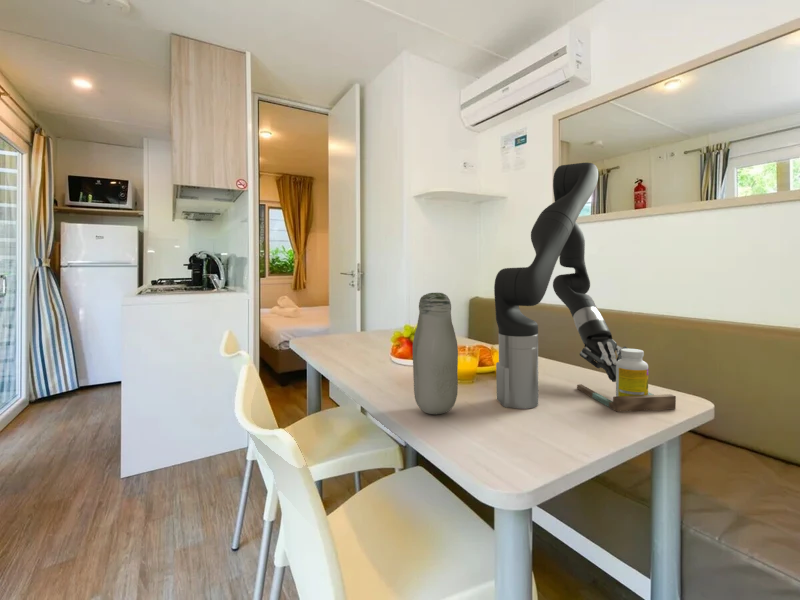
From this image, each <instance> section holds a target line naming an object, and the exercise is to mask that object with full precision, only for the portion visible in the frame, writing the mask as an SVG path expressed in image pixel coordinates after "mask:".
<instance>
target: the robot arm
mask: <svg viewBox="0 0 800 600" xmlns="http://www.w3.org/2000/svg"><path fill="white" fill-rule="evenodd" d="M598 180H599V170H598V167H597V165H595V164H594V163H593V162H579V163H569V164H562V165H560V166H559V165H558V167H557V168H556V169H555V170H554V173H553V178H552V191H553V196H554V197H553V199H554V202H552V203H551V204H549V205H548V206H546V207H545V208H544V209H543V210H542V211H541V212H540V213H539V215H538V216H537V219H536V221H535V223H534V224H533V226H532V229H531V230H530V240H531V244H532V247H533V249H534V252H535V257H534V259H533V261H532V262H531V264H530V265H528V266H527V267H525V266H524V267H523V266H522V267H521V266H520V267H506V268H505V267H504V268H502V269H500V270H499V271H498V272H497V273H496V276H495V278H494V279H495V280H494V287H493V288H494V290H493V291H494V294H493V295H494V307H495V320H496V321H495V323H496V324H497V330H498V362H496V364H495V369H496V370H495V371H496V375H495V376H496V378H495V379H496V382H495V384H496V387H495V388H496V400H497V401H498V403H499V404H501V406H503V408H512V409H521V410H522V409H523V410H524V409H525V410H527V409H532V408H536V407H537V406H538V405H539V324H538V323H537V321H535V320H533V319H531V318H530V317H527V316H526V315H525V314H523V313H522V311H521V310H520V307H533V306H538V305H539V303H541V301H542V300H543V298H544V296H545V295H546V292H547V289H548V288H549V287H548V286H549V284H550V282H551V279H552V276H553V272H554V269H555V267H556V264H557V262H558V261H559V265H560V266H561V267H563V268H568V269H569V268H570V269H573V270H574V273H573V272H572V273H565V274H558V275H557V276H555V278H554V279H553V280H552V281H553V282H552V288H553V291H554V294H556V296H557V297H558V299H559V300H560V301H561V302H562V303H563V304H564V305H565V307H566V308H568V310H569V311H570V314H571V316H572V319H573V321H574V326H575V328H576V330H577V332H578V334H579V336H580V339H581V341H582V343H583V346H584V347H583V348H582V349H581V351H580V353H579V356H580V357H582V358H583V359H584V360H585V361H586V362H588V363H589V364H591V365H592V366H594V367H595V368H596V369H600V368H601V369H603V370H604V371H605V372H606V375H607V377H608V379H609V380H610V381H612V383H616V363H617V361H618V360H620V359H622V356H621V349H626V348H628V347H627V346H620V345H618V344H617V342H616V341H615V340H614V339H613V336H612V332H611V330H610V328H609V326H608V324H607V323H606V321H605V319H604V317H603V315H602V314H601V312H600V311H599V309H598V307H597V305H596V304H595V301H594V300H593V297H591V296H590V295H589V294H587V293H588V292H589V291H590V288H591V280H590V277H589V274H588V269H587V266H586V260H585V254H586V253H585V249H586V248H585V247H586V240H585V235H584V233H583V231H582V229H581V227H580V225H579V224H578V222H577V220H578V218H579V216H580V214H581V212H582V211H583V209H584V207H585V205H586V204H587V203H588V201H589V199H590V198H591V196H592V195H593V193H594V191H595V190H596V187H597V184H598V182H599V181H598ZM558 259H559V260H558Z"/></svg>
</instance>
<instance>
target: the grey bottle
mask: <svg viewBox="0 0 800 600" xmlns="http://www.w3.org/2000/svg"><path fill="white" fill-rule="evenodd" d="M418 312H419V313H418V318H417V323H416V329H415V331H414V335H413V341H412V370H413V372H412V375H413V393H414V399H415V403H416V404H417V407H419V409H420V410H421V411H422V412H424V413H426V414H429V415H440V414H441V415H442V414H445V413H447V412H448V411H450V410H452V408H453V407H454V405H455V403H456V401H457V397H458V389H459V388H458V387H459V385H458V384H459V383H458V370H459V369H458V367H459V366H458V365H459V359H458V357H459V351H458V350H459V347H458V340H457V337H456V332H455V329H454V325H453V321H452V320H453V318H452V303H451V300H450V298H449V296H448V295H447V294H446V293H445V294H444V293H443V292H429V293H426V294H423V295H422V296H421V297H420V299H419V302H418Z"/></svg>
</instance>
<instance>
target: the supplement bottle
mask: <svg viewBox="0 0 800 600" xmlns="http://www.w3.org/2000/svg"><path fill="white" fill-rule="evenodd" d="M621 356H622V359H620V360H618V361H617V363H616V382H615V397H617V396H640V395H648V392H649V364H648V362H646V361H644V360H643V358H644V356H645V352H644V350H642V349H637V348H628V347H627V348H626V349H621Z"/></svg>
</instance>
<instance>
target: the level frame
mask: <svg viewBox="0 0 800 600" xmlns="http://www.w3.org/2000/svg"><path fill="white" fill-rule="evenodd" d="M576 389H577V390H578V391H580V392H582V393H583V394H585V395H587V396H589V397H591V398H593V400H596V401H598V402H599V403H601V404H603V405H605V406H607V407H608V408H609V409H611V410H613V411H616V412H617V413H619V412H620V413H621V412H622V413H623V412H638V411H639V412H643V411H660V410H661V411H663V410H667V411H668V410H676V401H677V399H676V398H677V397H676V395H674V394H671V393H669V394H668V393H667V394H654V393H652V392H649V391H648V395H640V396H617V397H616V396H613V397H612V400H611V399H609V398H608V397H605V396H604V395H602V394H600V393H598V392H596V391H595V390H593V389H591V388H589V387H587V386H586V385H584V384H580V383H579V384H577V385H576Z"/></svg>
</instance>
